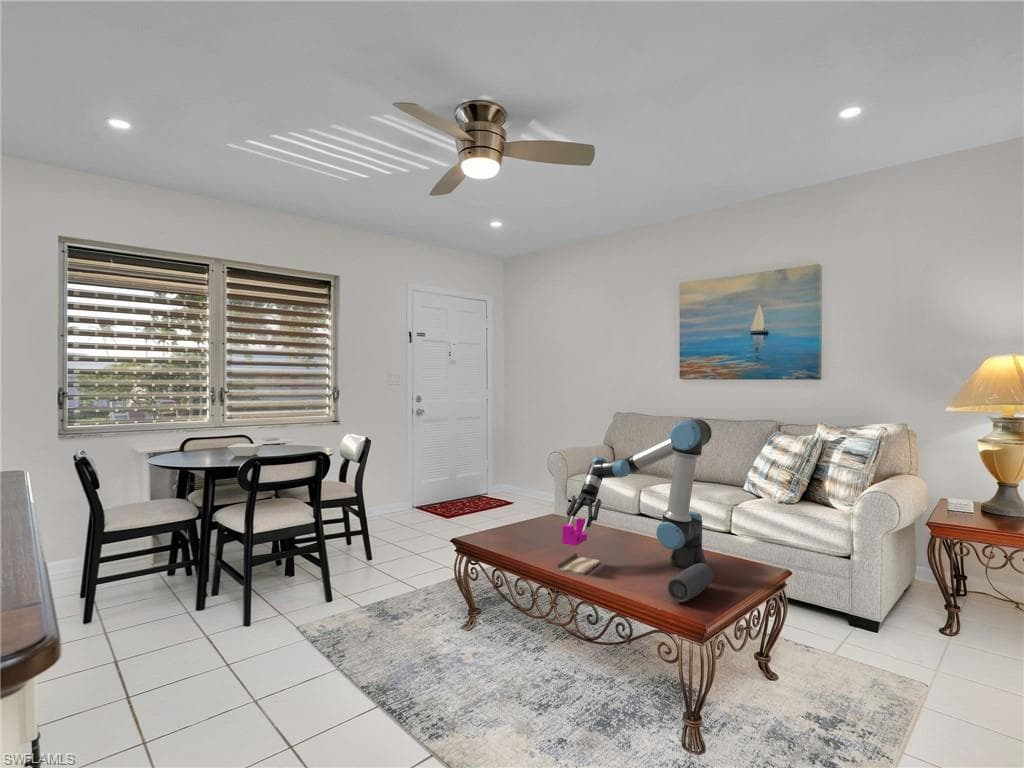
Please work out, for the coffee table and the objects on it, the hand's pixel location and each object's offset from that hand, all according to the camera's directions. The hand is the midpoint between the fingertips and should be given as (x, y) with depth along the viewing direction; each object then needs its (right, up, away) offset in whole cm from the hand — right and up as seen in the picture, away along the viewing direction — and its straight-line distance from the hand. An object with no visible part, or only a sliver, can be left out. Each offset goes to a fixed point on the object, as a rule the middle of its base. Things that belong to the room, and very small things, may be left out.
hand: (576, 531), depth 233 cm
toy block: (+1, -4, +1) cm, 4 cm away
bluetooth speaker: (+39, -16, -31) cm, 52 cm away
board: (+2, -16, +2) cm, 16 cm away
